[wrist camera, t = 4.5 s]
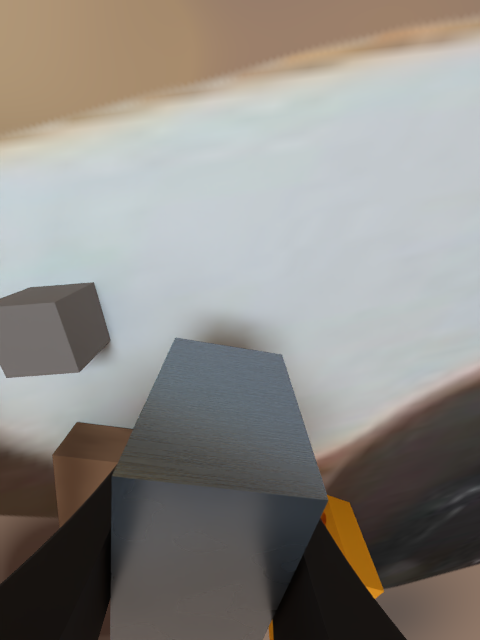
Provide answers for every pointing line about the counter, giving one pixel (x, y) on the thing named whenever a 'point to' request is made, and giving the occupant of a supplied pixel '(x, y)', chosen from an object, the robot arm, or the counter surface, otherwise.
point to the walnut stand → (85, 463)
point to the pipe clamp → (349, 544)
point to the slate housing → (211, 499)
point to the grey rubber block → (51, 330)
